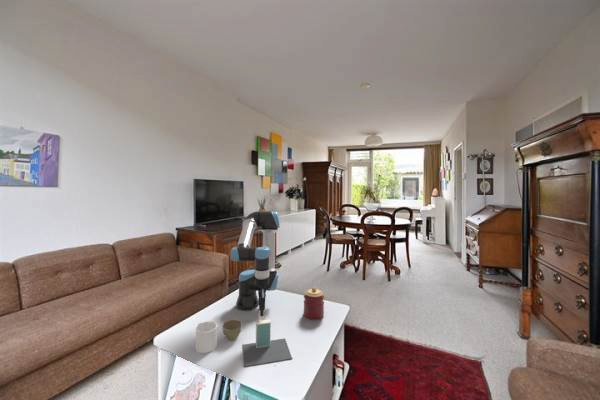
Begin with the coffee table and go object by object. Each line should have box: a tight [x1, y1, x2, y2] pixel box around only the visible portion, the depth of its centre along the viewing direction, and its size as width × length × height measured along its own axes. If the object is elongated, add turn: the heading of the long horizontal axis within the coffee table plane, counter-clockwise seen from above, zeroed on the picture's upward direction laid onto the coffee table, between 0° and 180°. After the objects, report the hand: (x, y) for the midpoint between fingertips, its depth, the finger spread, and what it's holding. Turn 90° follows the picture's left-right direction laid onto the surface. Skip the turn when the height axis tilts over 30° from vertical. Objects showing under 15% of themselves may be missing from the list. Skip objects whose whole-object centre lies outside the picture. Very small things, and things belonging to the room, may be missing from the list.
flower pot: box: [221, 319, 243, 341], centre depth 130 cm, size 10×10×7 cm
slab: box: [255, 319, 272, 348], centre depth 123 cm, size 3×7×12 cm, turn 105°
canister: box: [303, 286, 325, 321], centre depth 155 cm, size 13×13×18 cm
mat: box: [242, 338, 293, 368], centre depth 118 cm, size 16×22×1 cm
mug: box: [195, 321, 218, 354], centre depth 122 cm, size 13×10×10 cm
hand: (261, 320), depth 130 cm, fingers closed
